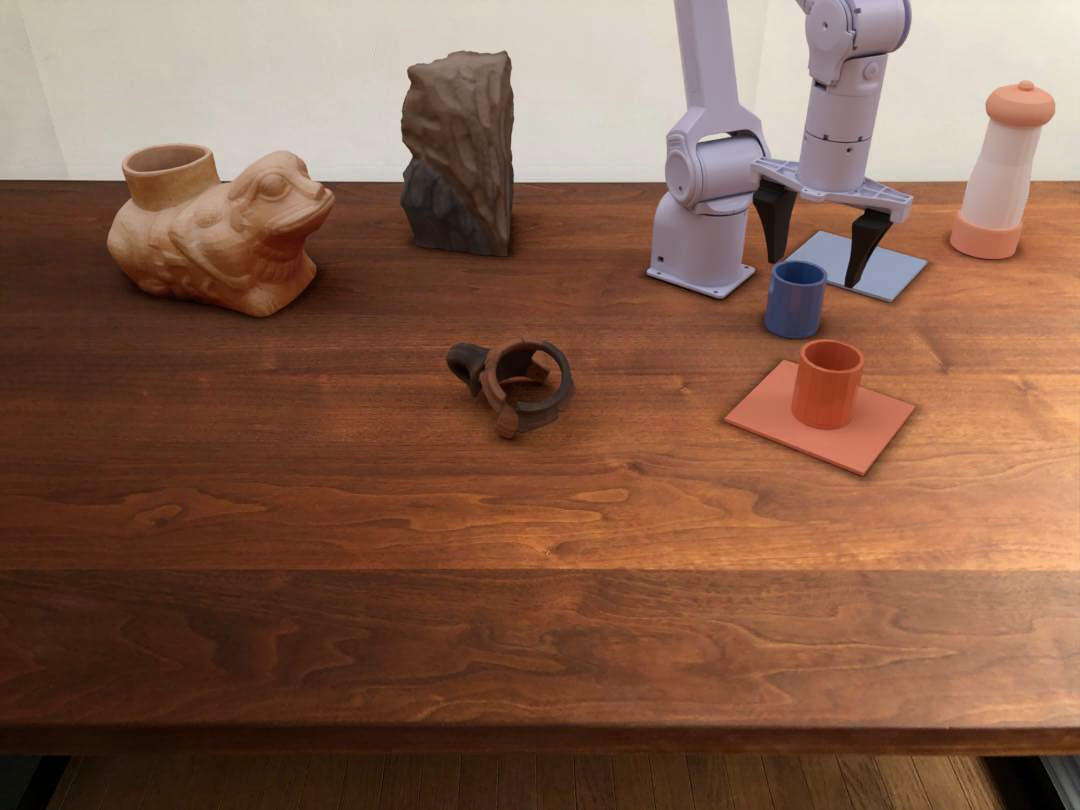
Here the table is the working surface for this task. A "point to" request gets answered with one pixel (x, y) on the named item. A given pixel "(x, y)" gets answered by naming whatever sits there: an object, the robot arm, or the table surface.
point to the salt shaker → (1002, 172)
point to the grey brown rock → (460, 152)
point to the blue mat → (880, 274)
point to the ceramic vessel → (218, 228)
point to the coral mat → (841, 447)
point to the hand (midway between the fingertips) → (813, 271)
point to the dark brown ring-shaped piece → (505, 363)
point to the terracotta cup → (827, 384)
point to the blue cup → (795, 299)
